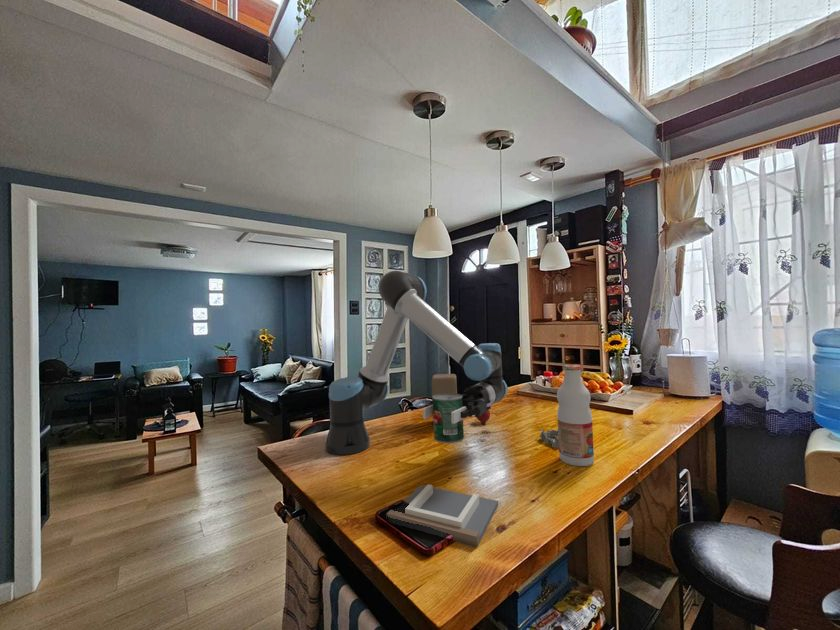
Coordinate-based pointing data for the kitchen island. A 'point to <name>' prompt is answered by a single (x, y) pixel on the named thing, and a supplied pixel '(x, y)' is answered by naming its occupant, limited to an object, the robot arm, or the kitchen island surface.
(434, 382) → the wooden block
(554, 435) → the egg carton
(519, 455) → the kitchen island surface
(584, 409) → the fruit juice
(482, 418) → the onion
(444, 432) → the canned tomato
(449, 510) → the board
